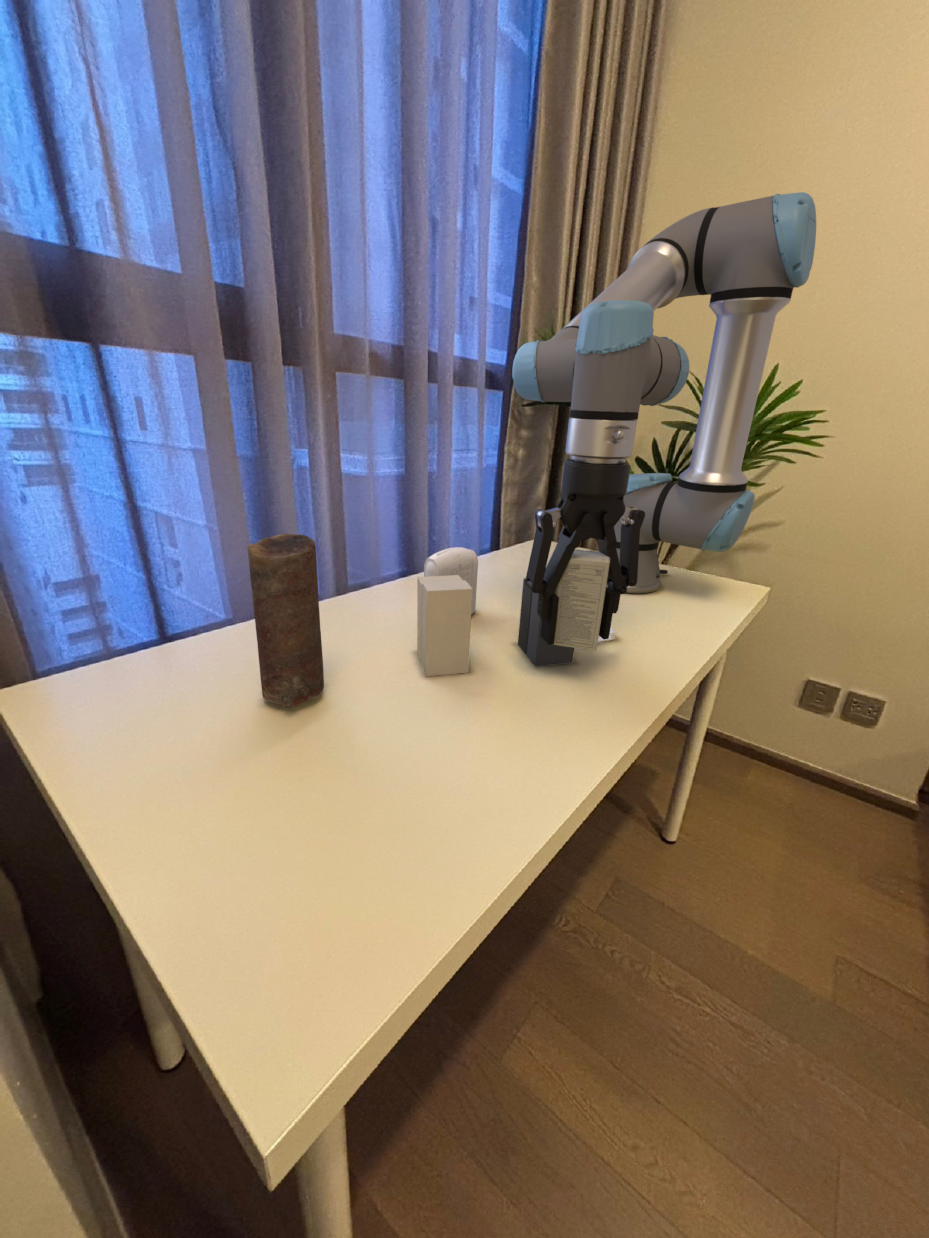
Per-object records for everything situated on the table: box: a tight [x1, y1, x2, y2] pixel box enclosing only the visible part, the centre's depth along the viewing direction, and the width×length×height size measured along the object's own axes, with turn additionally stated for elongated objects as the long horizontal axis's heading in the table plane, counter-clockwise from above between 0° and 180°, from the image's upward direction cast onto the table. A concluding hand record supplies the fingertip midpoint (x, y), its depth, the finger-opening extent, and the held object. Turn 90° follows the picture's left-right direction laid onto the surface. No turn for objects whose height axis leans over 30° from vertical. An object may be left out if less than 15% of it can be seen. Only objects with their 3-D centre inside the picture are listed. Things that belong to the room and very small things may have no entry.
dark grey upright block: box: [517, 578, 576, 667], centre depth 75 cm, size 6×7×12 cm
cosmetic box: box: [553, 549, 610, 651], centre depth 65 cm, size 6×4×12 cm
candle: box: [246, 533, 325, 708], centre depth 59 cm, size 8×7×20 cm
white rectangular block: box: [416, 575, 472, 677], centre depth 71 cm, size 6×7×12 cm
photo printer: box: [423, 546, 479, 615], centre depth 86 cm, size 10×4×12 cm, turn 134°
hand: (574, 637), depth 67 cm, fingers closed on cosmetic box, 7 cm apart
